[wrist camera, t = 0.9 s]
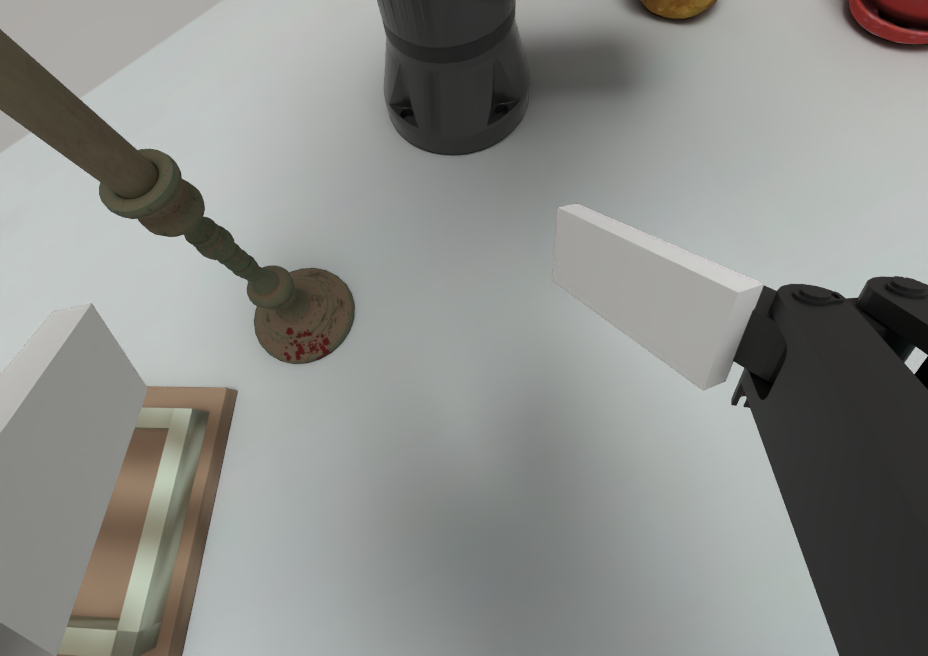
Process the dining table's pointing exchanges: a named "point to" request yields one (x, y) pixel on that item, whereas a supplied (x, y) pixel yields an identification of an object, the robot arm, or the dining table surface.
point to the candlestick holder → (174, 210)
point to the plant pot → (893, 19)
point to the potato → (677, 7)
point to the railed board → (154, 529)
